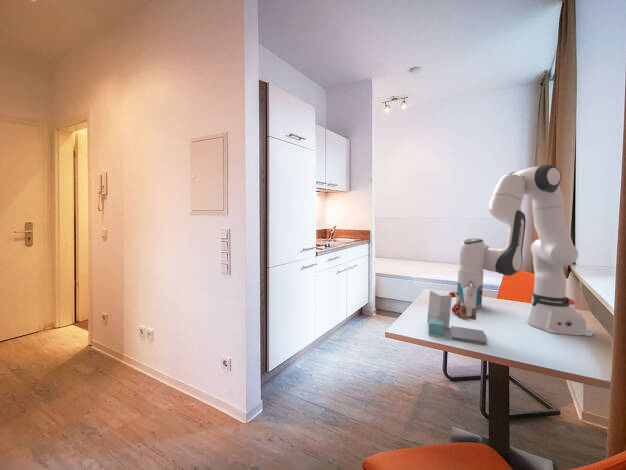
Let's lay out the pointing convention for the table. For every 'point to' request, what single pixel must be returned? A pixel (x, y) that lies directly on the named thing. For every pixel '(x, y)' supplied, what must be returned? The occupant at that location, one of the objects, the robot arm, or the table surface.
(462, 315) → the walnut brick
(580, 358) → the table surface
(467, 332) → the baseplate
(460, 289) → the food can
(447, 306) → the skincare box
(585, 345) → the table surface
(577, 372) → the table surface
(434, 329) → the teal block
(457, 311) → the toy fire truck
